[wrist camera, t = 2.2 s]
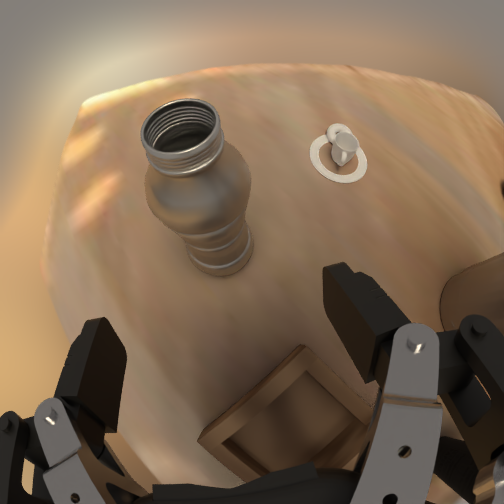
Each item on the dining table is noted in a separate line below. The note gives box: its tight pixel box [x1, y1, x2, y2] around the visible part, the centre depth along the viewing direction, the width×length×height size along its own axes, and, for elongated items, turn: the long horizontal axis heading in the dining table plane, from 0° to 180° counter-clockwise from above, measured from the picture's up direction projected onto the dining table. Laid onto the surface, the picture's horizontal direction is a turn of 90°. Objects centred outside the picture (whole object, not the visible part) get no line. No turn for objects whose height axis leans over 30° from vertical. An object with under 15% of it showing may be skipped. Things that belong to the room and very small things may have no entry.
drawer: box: [197, 344, 373, 483], centre depth 22 cm, size 14×12×7 cm
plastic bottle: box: [141, 99, 254, 276], centre depth 21 cm, size 6×7×20 cm
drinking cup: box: [433, 437, 479, 504], centre depth 13 cm, size 8×8×20 cm
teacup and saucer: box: [310, 123, 367, 183], centre depth 33 cm, size 9×8×4 cm
